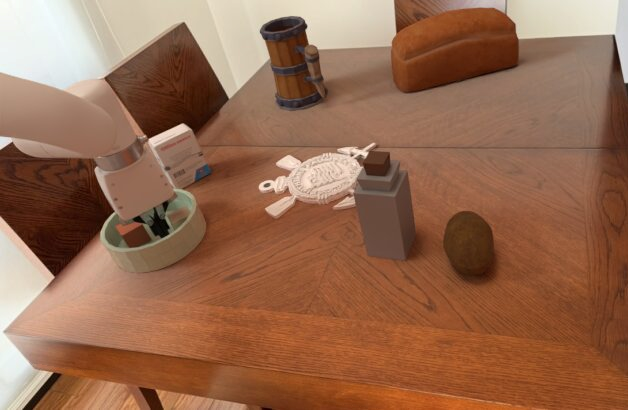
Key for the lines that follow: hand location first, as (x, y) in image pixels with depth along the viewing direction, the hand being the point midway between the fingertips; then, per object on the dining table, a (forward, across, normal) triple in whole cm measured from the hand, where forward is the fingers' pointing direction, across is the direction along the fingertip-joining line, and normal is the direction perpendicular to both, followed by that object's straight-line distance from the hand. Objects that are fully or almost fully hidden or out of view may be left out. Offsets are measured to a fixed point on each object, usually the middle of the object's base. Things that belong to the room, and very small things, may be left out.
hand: (163, 234), depth 95 cm
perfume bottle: (+2, -27, +34) cm, 44 cm away
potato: (+2, -33, +47) cm, 57 cm away
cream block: (+1, -4, +1) cm, 4 cm away
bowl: (+2, +1, -2) cm, 2 cm away
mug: (+1, -50, -24) cm, 56 cm away
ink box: (+2, -12, -16) cm, 21 cm away
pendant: (+2, -31, +10) cm, 33 cm away
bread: (+1, -84, -1) cm, 84 cm away
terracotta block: (+1, +4, -4) cm, 6 cm away
